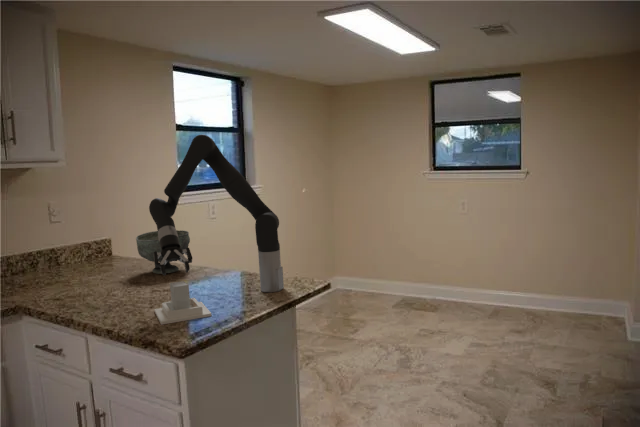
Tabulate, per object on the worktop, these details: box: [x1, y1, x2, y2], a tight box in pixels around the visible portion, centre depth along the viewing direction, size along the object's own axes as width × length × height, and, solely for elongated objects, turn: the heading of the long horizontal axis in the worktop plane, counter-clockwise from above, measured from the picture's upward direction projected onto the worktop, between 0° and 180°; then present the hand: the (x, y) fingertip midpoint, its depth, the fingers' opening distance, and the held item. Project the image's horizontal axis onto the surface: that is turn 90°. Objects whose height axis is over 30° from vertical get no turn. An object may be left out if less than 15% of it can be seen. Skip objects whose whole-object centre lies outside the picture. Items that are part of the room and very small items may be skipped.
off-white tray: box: [153, 297, 212, 326], centre depth 199 cm, size 18×18×4 cm
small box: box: [169, 280, 190, 311], centre depth 199 cm, size 8×6×10 cm
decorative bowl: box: [135, 229, 191, 275], centre depth 274 cm, size 27×26×20 cm
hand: (176, 272), depth 204 cm, fingers open, 8 cm apart
